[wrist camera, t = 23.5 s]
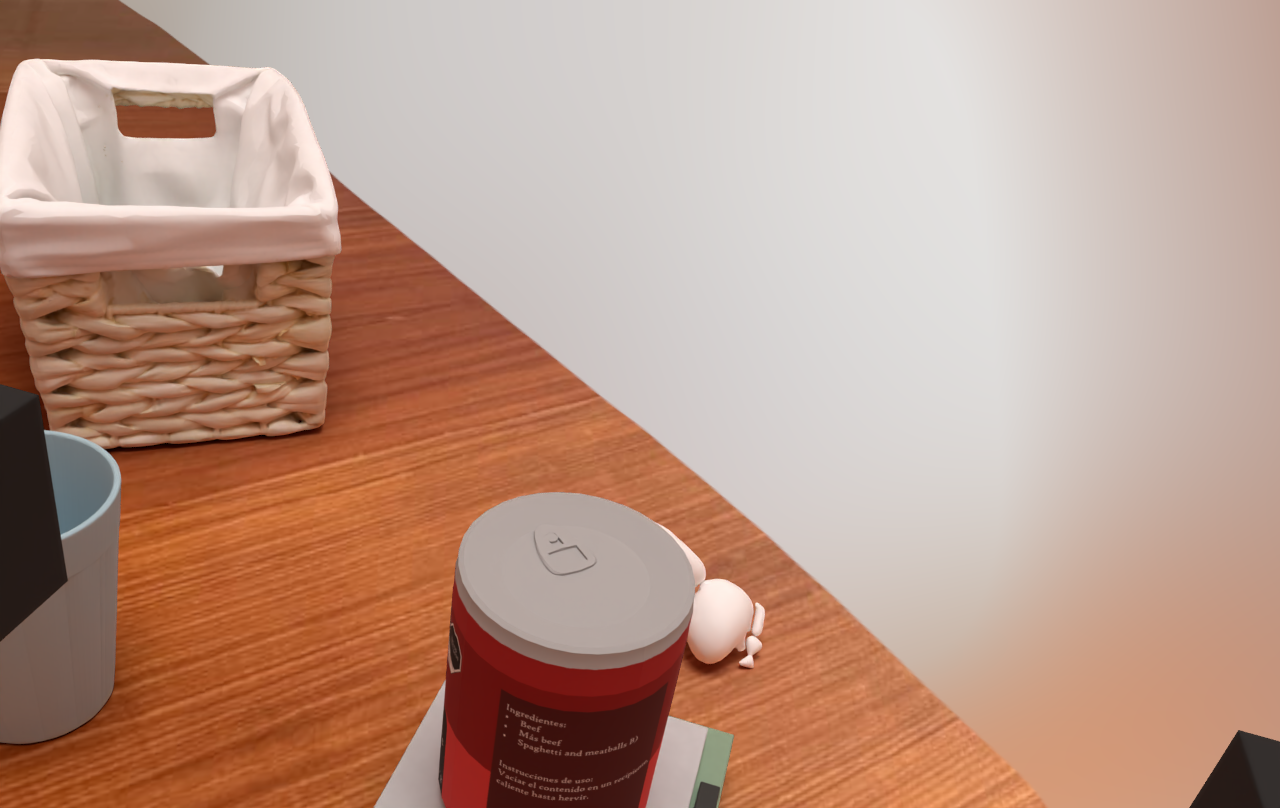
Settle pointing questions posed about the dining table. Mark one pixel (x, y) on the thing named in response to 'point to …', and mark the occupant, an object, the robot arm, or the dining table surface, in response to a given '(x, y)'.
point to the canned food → (561, 655)
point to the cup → (69, 606)
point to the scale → (677, 790)
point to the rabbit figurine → (720, 616)
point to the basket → (168, 252)
